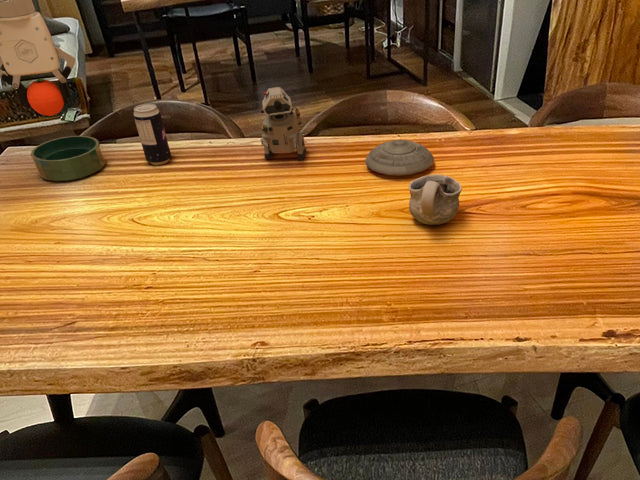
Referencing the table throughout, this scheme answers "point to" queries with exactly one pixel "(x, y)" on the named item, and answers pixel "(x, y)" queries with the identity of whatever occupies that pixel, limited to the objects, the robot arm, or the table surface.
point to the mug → (434, 199)
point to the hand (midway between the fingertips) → (48, 103)
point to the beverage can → (152, 134)
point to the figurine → (281, 125)
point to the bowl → (68, 158)
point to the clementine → (45, 97)
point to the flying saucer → (399, 158)
